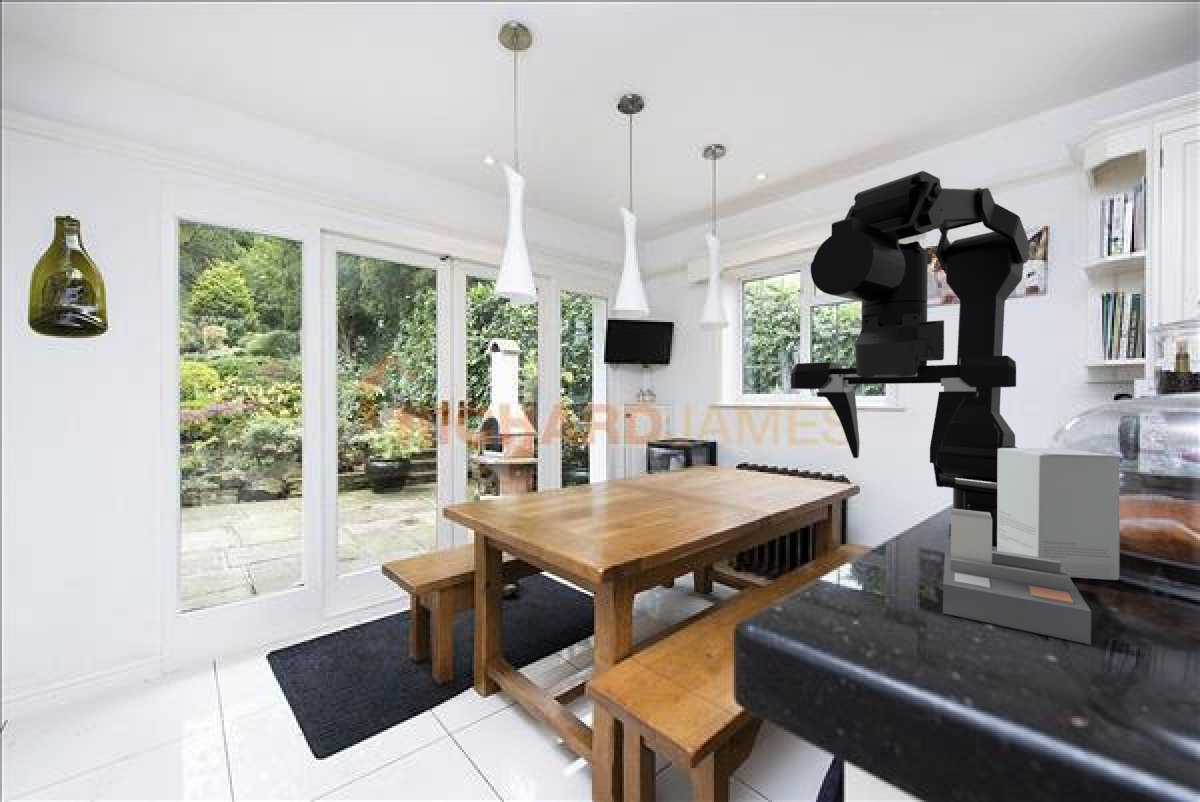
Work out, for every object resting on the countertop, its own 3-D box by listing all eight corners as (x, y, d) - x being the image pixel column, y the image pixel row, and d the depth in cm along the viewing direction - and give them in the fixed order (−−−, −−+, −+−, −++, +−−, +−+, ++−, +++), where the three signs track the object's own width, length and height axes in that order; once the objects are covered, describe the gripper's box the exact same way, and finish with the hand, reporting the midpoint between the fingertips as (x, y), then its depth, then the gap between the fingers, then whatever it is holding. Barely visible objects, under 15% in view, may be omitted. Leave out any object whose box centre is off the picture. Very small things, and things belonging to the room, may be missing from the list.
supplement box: (1122, 581, 49) (1124, 455, 48) (1036, 576, 50) (1037, 453, 50) (1068, 557, 56) (1069, 447, 56) (994, 553, 57) (995, 446, 57)
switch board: (945, 566, 53) (945, 534, 53) (1058, 585, 48) (1058, 549, 48) (942, 613, 42) (943, 572, 42) (1090, 644, 36) (1091, 597, 36)
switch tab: (950, 556, 48) (951, 508, 48) (989, 562, 46) (990, 512, 46) (950, 565, 46) (951, 514, 46) (991, 572, 44) (992, 519, 44)
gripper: (776, 305, 48) (776, 462, 49) (1024, 278, 37) (1023, 481, 38) (803, 319, 57) (803, 451, 58) (1010, 300, 46) (1009, 464, 47)
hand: (892, 460), depth 50 cm, fingers open, 6 cm apart
